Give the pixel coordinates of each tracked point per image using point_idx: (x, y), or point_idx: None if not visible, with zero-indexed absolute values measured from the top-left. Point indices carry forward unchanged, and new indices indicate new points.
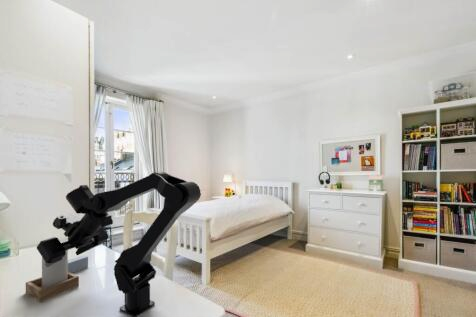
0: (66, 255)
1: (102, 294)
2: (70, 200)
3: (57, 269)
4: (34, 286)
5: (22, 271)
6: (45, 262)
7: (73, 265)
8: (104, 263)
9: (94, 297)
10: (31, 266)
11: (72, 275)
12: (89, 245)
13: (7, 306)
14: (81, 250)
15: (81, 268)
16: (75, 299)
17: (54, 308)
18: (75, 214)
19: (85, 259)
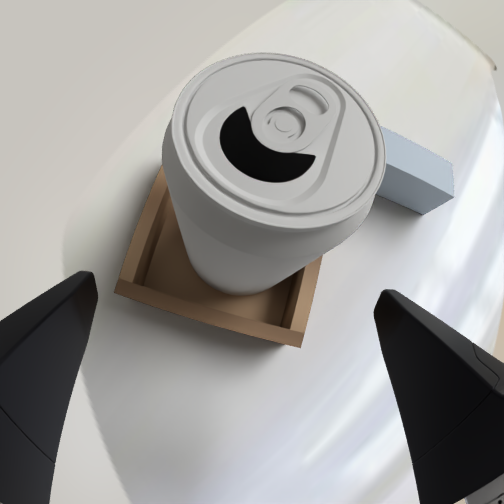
0: (316, 257)
1: (253, 498)
2: None
3: (217, 272)
4: (148, 209)
5: (304, 30)
6: (58, 287)
7: (390, 179)
8: (463, 255)
9: (225, 488)
10: (336, 30)
11: (300, 297)
12: (437, 467)
13: (90, 193)
14: (403, 366)
15: (405, 202)
16: (188, 431)
17: (113, 401)
18: None
19: (439, 196)
